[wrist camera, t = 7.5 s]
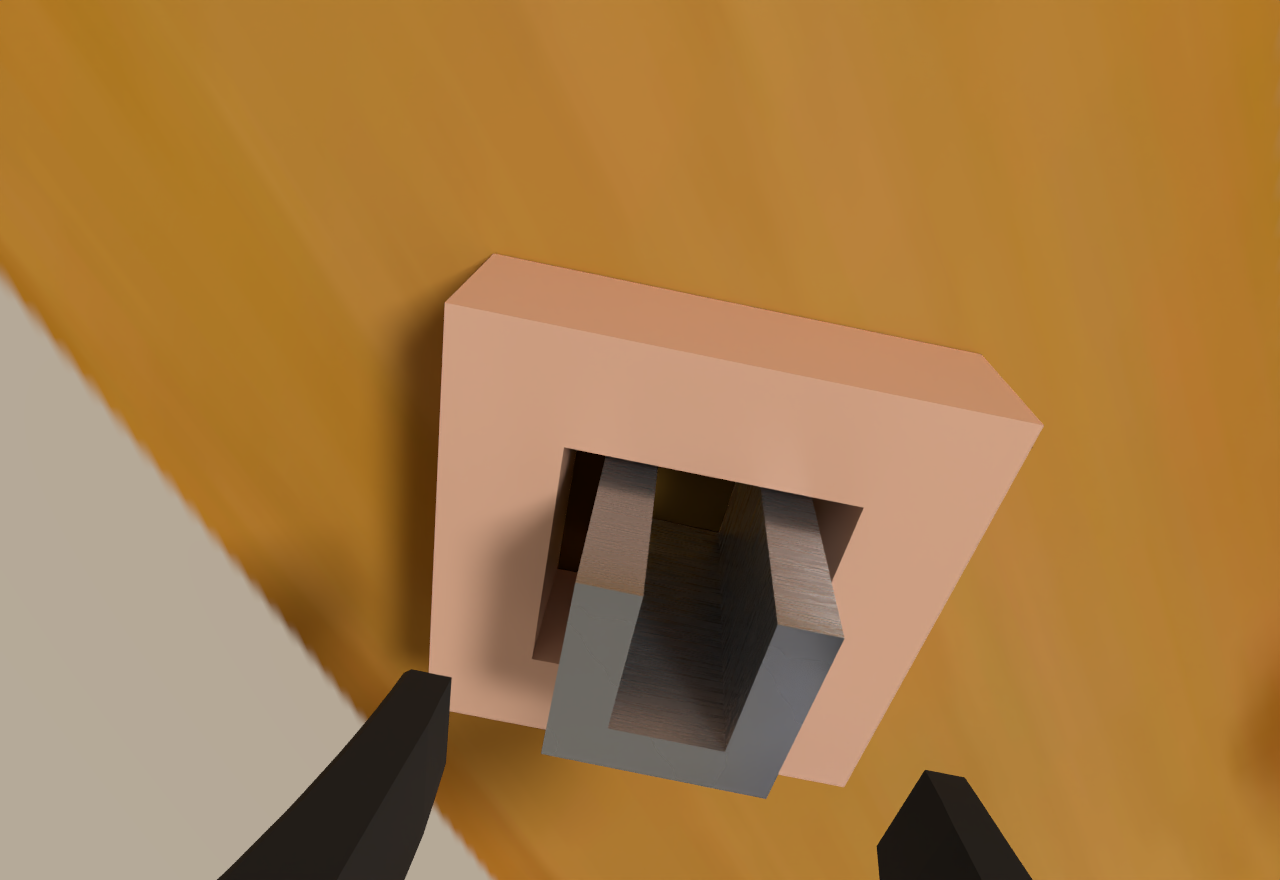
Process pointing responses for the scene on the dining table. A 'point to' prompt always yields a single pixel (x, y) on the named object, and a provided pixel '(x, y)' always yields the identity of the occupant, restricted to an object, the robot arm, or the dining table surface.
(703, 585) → the bracket
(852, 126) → the dining table surface
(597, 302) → the well
